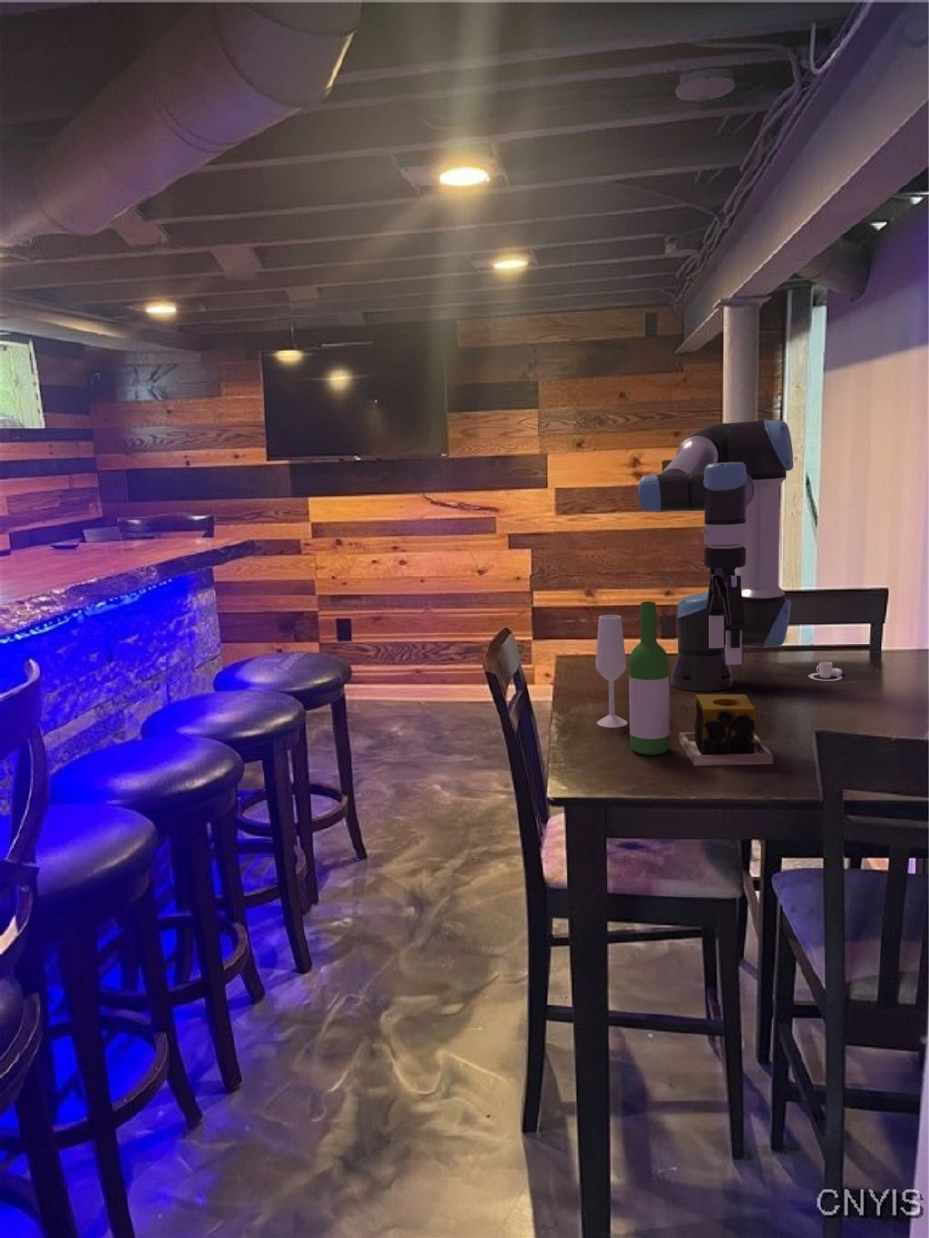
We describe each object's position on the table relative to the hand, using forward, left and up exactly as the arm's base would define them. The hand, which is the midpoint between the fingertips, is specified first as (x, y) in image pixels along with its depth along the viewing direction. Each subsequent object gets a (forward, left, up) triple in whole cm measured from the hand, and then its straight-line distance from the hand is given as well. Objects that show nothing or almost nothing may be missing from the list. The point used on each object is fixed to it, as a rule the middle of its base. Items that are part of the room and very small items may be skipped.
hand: (724, 655), depth 163 cm
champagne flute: (-21, -20, -20) cm, 35 cm away
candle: (0, 0, -19) cm, 19 cm away
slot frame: (0, 0, -19) cm, 19 cm away
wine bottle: (-2, -14, -20) cm, 24 cm away
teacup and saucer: (-52, +41, -20) cm, 69 cm away
